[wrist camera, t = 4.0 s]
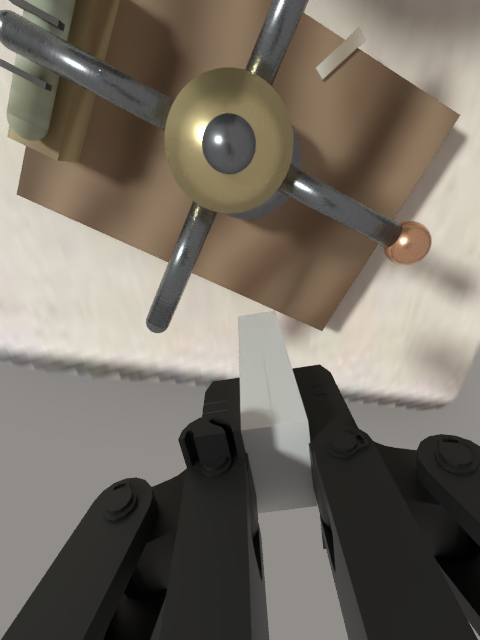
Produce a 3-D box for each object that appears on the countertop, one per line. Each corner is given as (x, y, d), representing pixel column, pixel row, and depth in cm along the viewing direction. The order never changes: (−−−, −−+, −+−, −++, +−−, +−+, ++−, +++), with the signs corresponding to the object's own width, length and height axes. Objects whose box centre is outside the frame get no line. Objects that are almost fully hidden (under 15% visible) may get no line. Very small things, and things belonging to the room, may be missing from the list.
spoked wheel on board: (32, 193, 26) (-39, 199, 19) (98, -123, 19) (24, -286, 12) (316, 321, 30) (339, 362, 24) (450, 107, 24) (534, 81, 17)
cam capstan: (33, 233, 25) (-68, 263, 16) (123, -173, 17) (15, -515, 8) (302, 349, 29) (329, 417, 21) (476, 72, 21) (632, 5, 13)
